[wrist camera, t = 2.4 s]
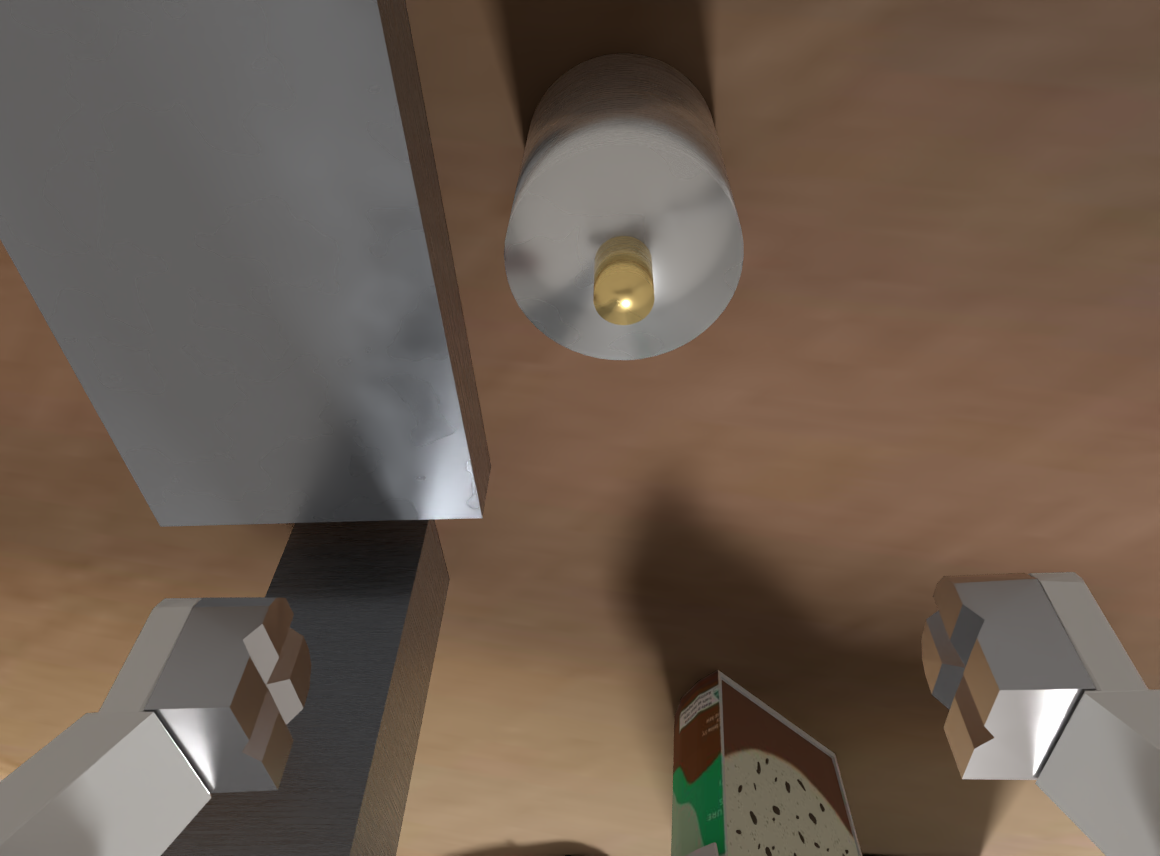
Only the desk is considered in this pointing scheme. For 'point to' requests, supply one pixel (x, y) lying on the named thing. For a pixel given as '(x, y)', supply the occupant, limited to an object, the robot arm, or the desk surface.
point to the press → (264, 339)
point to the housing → (623, 212)
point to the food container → (752, 781)
